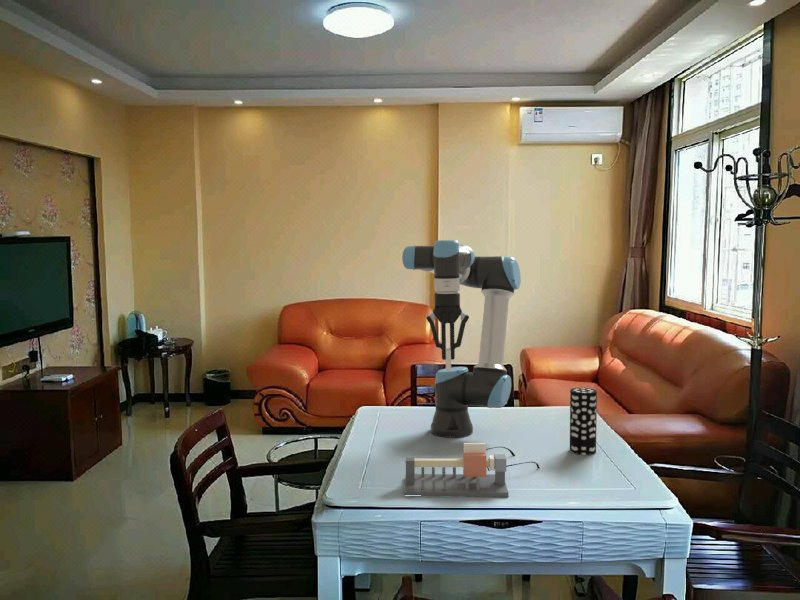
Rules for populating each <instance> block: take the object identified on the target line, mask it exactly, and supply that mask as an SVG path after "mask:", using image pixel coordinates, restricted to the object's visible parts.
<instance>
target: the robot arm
mask: <svg viewBox="0 0 800 600" xmlns="http://www.w3.org/2000/svg"><path fill="white" fill-rule="evenodd" d="M401 258H402V259H401V260H402V265H403V267H404V268H405V269H406V270H412V271H416V270H419V271H423V272H427V273H431V274H433V280H434V281H433V284H434V285H433V286H434V287H433V288H434V292H435V293H434V308H433V311H432V313H430V314H428V315H426V321H427V323H429V326H430V329H431V333H432V336H433V341H434V343H435V347H436V348H438V349H441V359H442V361H445V368H443V369H442V368H441V369H439V370H437V372H436V373H435V382H434V391H435V392H434V393H435V394H434V395H435V396H434V397H435V411H434V415H433V418H432V422H431V424H430V433H431V434H433V435H434V436H438V437H444V438H462V437H467V436H470V435H472V434H473V433H474V432H473V430H474V427H473V423H472V421H471V420H472V419H471V417H470V413H469V406H471V407H481V408H489V409H493V408H494V409H501V408H503V407H504V406H505V405H506V404H507V402H508V400H509V398H510V394H511V390H512V378H511V376H510V375H508V374H507V372H508V370H507V369H506V368H505V366H504V356H505V346H506V345H505V344H506V335H507V326H508V325H507V324H508V314H509V304H510V303H509V302H510V298H512V297H513V296H514V295H515V290H518V289H520V285H521V279H522V278H521V270H520V265H519V263H518V261H517V259H516V258H514V257H513V256H505V255H502V256H501V255H500V256H475V252H474V250H473V248H471V247H470V246H468V245H467V244H460V242H459V241H458V240H456V239H442V240H435V241H434V243H433V245H409V246H405V248H404V249H403V251H402V257H401ZM460 286H465V287H469V288H471V289H472V288H473V289H481V291H480V292H481V293H482V295H483V296H484V303H483V314H482V325H481V334H480V344H479V354H478V356H479V357H478V362H477V364H475V365H474V366H473V370H472V371H473V372H472V371H471V372H469V369H468V367H467V366H452V360H455V358H456V357H455V356H456V355H455V354H456V353H455V352H456V351H455V349H457V348H460V347H461V345H462V341H463V337H464V333H465V329H466V328H465V327H466V323H467V321H468V320H469V319H470V317H469V315H468V314H466V313H464V312H463V310H462V308H461V295H460V292H459V291H460V289H461V287H460ZM435 317H436V319H437V320H438V322H439V323H440V331H441V333H440V334H441V336H440V337H441V342H440V341H439V337H438V334H437V333H438V332H437V330H436V329H437V328H436V325H435V320H436V319H435ZM458 318H460V320H461V321H460V324H459V330H458V333H457V338H456V342H455V323H456V322H457V320H458ZM446 324H449V343H450V344H449V347H447V345H446V344H447V341H446V340H447V337H446V335H447V334H446V332H447V331H446Z"/></svg>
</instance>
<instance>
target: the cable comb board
mask: <svg viewBox="0 0 800 600" xmlns="http://www.w3.org/2000/svg"><path fill="white" fill-rule="evenodd" d="M414 458H415V457H411V456H409V457H407V456H406V457H405V476H404V477H405V479H404V490H403V496H404V495H421V496H471V497H470V498H475V497H476V498H509V491H508V487H507V484H506V483H507V482H506V472H495V471H494V473H493V474H492V473H491V474H490V473H489V474H488V473H486V477H464V471H463V470H462V474H461V473H457V471H456V469H457V467H452V473H448V474H447V473H446V467H441V468H442V472H441V473H439V474H438V473H436V472H435V471H436V467H431V473H425V467H420V468H421V471H420V472H421V473H415V472H416V469H415V468H416V467H414ZM487 496H488V497H487ZM490 496H491V497H490Z"/></svg>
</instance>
